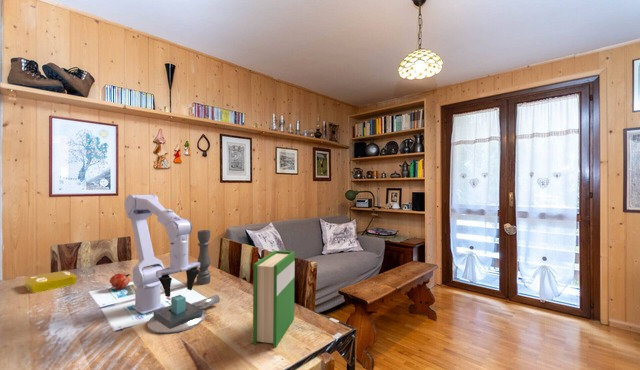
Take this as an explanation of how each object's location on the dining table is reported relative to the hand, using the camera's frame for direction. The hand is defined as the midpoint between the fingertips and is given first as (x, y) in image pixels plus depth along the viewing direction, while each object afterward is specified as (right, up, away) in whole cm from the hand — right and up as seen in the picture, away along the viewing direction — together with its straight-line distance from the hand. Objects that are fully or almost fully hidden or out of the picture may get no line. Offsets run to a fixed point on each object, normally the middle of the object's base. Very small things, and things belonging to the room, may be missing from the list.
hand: (178, 292), depth 98 cm
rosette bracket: (+2, -9, +2) cm, 10 cm away
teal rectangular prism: (0, -8, -1) cm, 8 cm away
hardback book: (+35, -10, -7) cm, 37 cm away
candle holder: (-7, -10, +37) cm, 39 cm away
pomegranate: (-41, -9, +28) cm, 51 cm away
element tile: (-76, -10, +32) cm, 83 cm away
